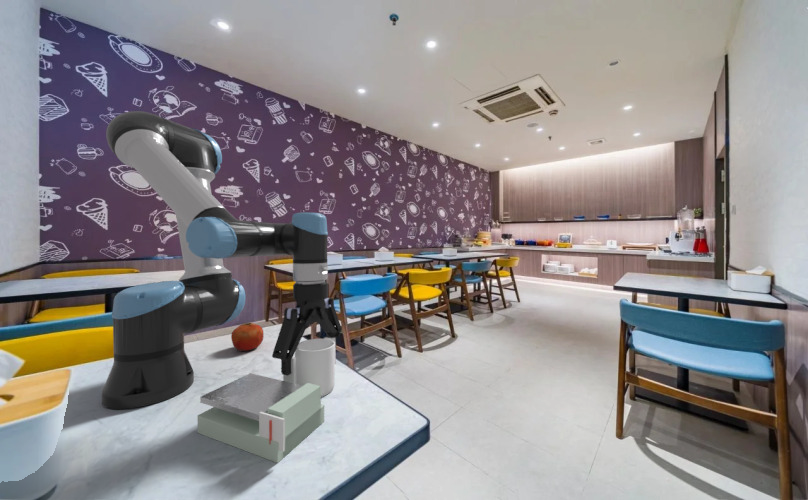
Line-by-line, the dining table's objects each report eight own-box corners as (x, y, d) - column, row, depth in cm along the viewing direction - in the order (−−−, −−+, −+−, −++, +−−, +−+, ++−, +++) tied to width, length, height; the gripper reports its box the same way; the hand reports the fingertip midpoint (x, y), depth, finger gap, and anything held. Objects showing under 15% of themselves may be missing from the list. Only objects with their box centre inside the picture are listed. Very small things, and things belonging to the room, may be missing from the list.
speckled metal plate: (200, 413, 50) (200, 396, 50) (250, 387, 60) (250, 373, 60) (260, 434, 45) (260, 415, 45) (304, 402, 54) (304, 386, 54)
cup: (311, 403, 59) (311, 354, 59) (279, 385, 67) (279, 341, 66) (342, 387, 66) (342, 343, 66) (310, 373, 73) (310, 333, 73)
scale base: (197, 432, 50) (197, 392, 50) (252, 400, 60) (252, 367, 60) (282, 464, 43) (282, 417, 43) (328, 422, 53) (328, 384, 53)
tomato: (241, 356, 84) (241, 328, 84) (224, 350, 89) (224, 324, 89) (271, 346, 92) (271, 321, 92) (254, 341, 97) (254, 317, 96)
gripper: (281, 290, 53) (283, 406, 53) (354, 276, 76) (355, 357, 76) (251, 288, 56) (252, 398, 56) (330, 275, 79) (331, 353, 79)
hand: (312, 375), depth 66 cm, fingers open, 13 cm apart
